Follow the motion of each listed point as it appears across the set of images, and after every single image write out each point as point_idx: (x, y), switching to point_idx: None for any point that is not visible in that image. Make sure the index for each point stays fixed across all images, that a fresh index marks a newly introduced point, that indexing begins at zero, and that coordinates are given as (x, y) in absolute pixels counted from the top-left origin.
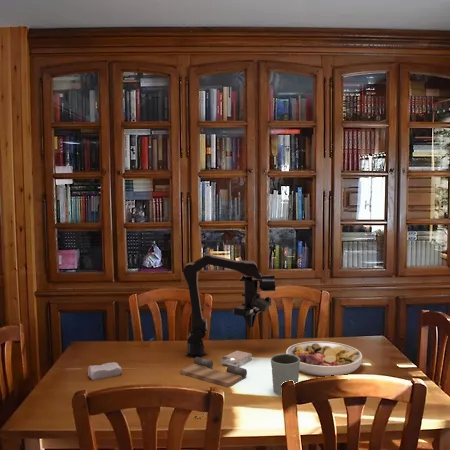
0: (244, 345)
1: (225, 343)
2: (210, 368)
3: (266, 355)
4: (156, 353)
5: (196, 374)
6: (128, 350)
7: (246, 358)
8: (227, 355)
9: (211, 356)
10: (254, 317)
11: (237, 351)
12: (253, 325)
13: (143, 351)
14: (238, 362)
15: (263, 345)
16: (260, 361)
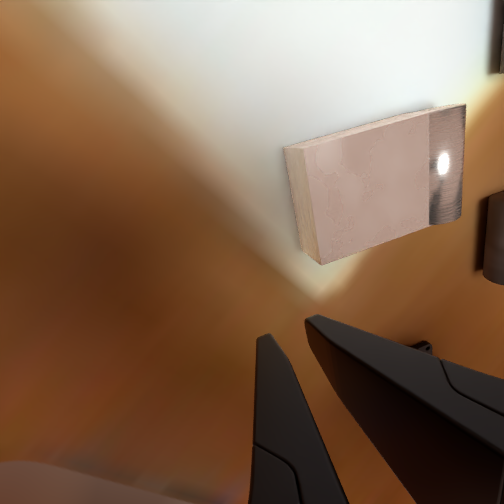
0: (131, 385)
1: (201, 449)
2: (498, 194)
3: (132, 148)
4: None
5: None
6: None
7: (355, 131)
8: (417, 228)
9: (375, 328)
10: (336, 477)
11: (332, 248)
12: (263, 346)
13: None
14: (436, 109)
15: (4, 329)
16: (253, 85)
